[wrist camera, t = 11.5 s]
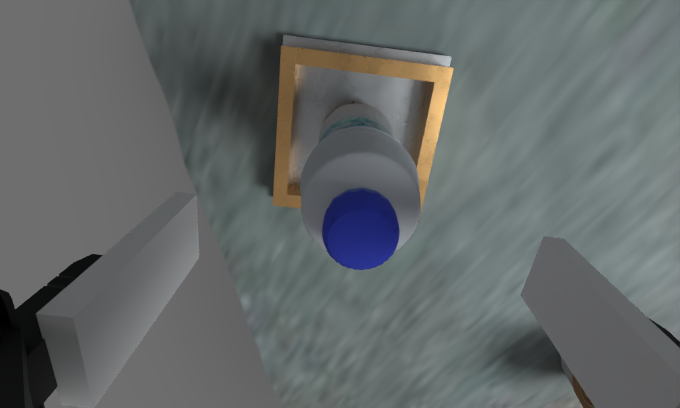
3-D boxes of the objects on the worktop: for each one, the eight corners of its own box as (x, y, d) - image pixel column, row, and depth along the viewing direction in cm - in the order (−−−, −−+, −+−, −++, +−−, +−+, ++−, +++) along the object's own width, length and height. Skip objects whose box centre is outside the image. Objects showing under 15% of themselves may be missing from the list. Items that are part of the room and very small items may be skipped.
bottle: (339, 182, 35) (327, 331, 17) (305, 118, 33) (249, 209, 14) (404, 152, 34) (469, 277, 15) (374, 83, 32) (408, 134, 13)
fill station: (285, 35, 31) (277, 33, 28) (448, 56, 32) (459, 57, 28) (276, 197, 37) (269, 212, 34) (413, 213, 38) (419, 230, 34)
